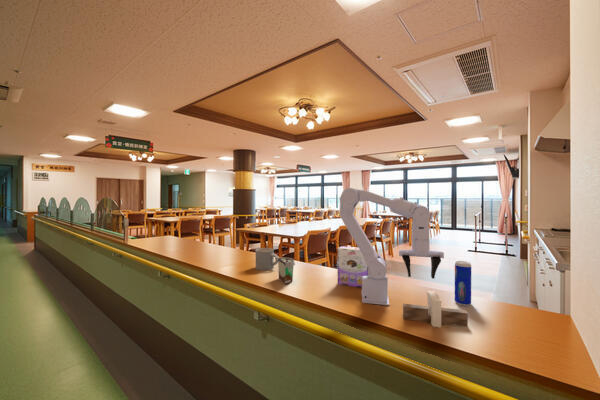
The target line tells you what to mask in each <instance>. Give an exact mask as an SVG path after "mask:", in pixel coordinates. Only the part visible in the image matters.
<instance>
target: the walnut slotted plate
mask: <svg viewBox="0 0 600 400" xmlns="http://www.w3.org/2000/svg"><path fill="white" fill-rule="evenodd" d="M468 315H469V314H468V312H467V310H465V309H461V308H460V309H458V308H449V307H441V324H442V323H443V324H444V325H452V326H460V327H468V326H469V325H468V324H469V322H468V321H469V318H468V317H469V316H468ZM402 318H403V320H409V321H410V320H411V321H417V320H418V321H419V322H427V323H431V316H430V313H429V312H428V305H421V304H419V305H418V304H411V303H402Z"/></svg>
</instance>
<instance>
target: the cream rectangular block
mask: <svg viewBox="0 0 600 400" xmlns="http://www.w3.org/2000/svg"><path fill="white" fill-rule="evenodd" d="M427 307H428V312H429V313H430V316H431V322H430V324H431V326H433V328H440V327H441V328H442V323H441V308H442V300H441V298H440V296H439V294H438V293H437V291H433V290H427Z"/></svg>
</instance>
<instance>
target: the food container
mask: <svg viewBox="0 0 600 400" xmlns="http://www.w3.org/2000/svg"><path fill="white" fill-rule="evenodd" d="M277 264H278V280H279V281H281V282H282V283H283V284H284V285H290V284H291V283H292V282H293V279H294V278H293V277H294V266H295V265H296V262H295V260H294V258H292V257H286V256H285V257H284V256H283V257H279V256H278V263H277Z"/></svg>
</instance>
